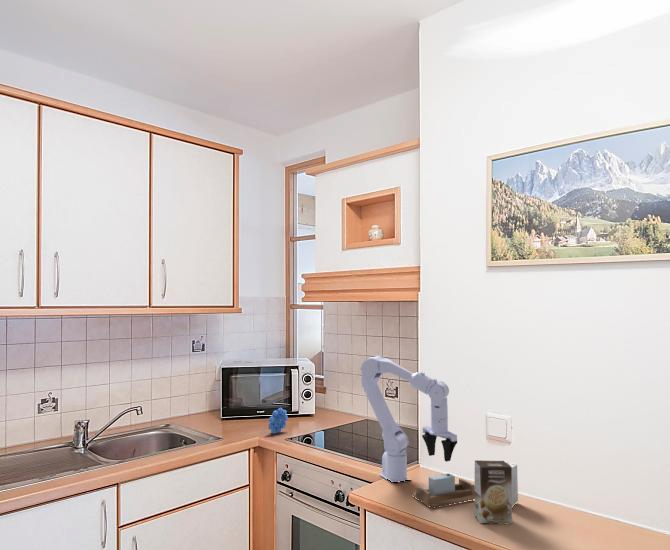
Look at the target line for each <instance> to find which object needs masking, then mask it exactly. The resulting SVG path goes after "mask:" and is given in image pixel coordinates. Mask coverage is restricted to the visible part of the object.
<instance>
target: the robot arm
mask: <svg viewBox="0 0 670 550" xmlns="http://www.w3.org/2000/svg"><path fill="white" fill-rule="evenodd" d="M360 372H361V386H362V387H361V388H362V389H363V391H364V392H365V395H366V397H367V400H368V402H369V404H370V407H372V410H373V413H374V415H375V417H376V420H377V421H378V423H379V425H380V428H381V430H382V433H381V438H382V440H383V447H384V453H383V454H382V456H381V473H380V474H379V476H380V477H382V478H383V479H385V480H387V479H390V481H391V482H398V481H404V480H407V479H408V477H409V476H408V469H407V468H408V467H407V466H408V465H407V462H408V461H407V459H408V458H407V456H408V453H407V447H408V446H409V443H410V441H409V436H407V434H406V433H405V432H404V431H403V430H402V428H401V426H399V425H398V424H397V423H396V421H395V419H394V417H393V415H392V413H391V410H390V408H389V407H388V406H389V405H388V404H387V402H386V400H385V398H384V396H383V393H382V391H381V389H380V388H379V385H378V384H379V383H378V382H379V380H380V378H381V375H382V374H386V373H387V374H389V373H390V374H392V375H394V376H396V377H398V378H400V379H403V380H404V381H407V382H409V384H410V387H412V388H414V389H415V390H418V391H419V392H421V393H423V394H425V395H427V396H428V397H429V398H430V426H422V433H423V434H422V435H421V437H422V439H423V441H424V443H425V445H426V449H427V454H428V456H430V457H431V456H435V454H436V442H437V439H438V437H439V438H442V440H441V442H440V443H441V444H442V445H441V446H442V449H443V457H444V458H443V459H444V462H446V463H447V462H451V461H452V460H451V459H452V456H453V453H454V449H455V447H456V445H457V444H458V435H457V434H455V433H453V432H451V431H449V430H448V429H449V427H448V426H449V425H448V422H449V420H448V419H449V415H448V410H449V409H448V406H449V405H448V395H449V394H450V389H449V386H448V384H447V383H445V382H444V381H442V380H441V381H438V379H436V378H431V377H430V376H428V375H425V374H426V373H425V372H423V371H421V372H419V371H417V372H412V371H410V370H408V369H407V368H405V367H403V366H401V365H399V364H398V363H396V362H394V361H393V360H392V359H389V358H387V357H383V356H382V355H376V356H373V357H368V358H366V359H364V360H363V362H362V363H361V366H360ZM443 439H444V440H443ZM390 481H389V482H390ZM391 482H390V483H391ZM404 482H405V481H404ZM398 483H399V482H398Z"/></svg>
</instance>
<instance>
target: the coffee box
mask: <svg viewBox="0 0 670 550" xmlns="http://www.w3.org/2000/svg"><path fill="white" fill-rule="evenodd" d="M508 463H509V462H506V463H505V461H504V460H477V459H476V460H474V486H475V501H474V507H473V508H474V513H473V514H475V515H474V517H475V516H476V517H477V518H476V517H475V518H476V520H477V521H478V520H479V521H480V522H479V521H478V522H479V523H480V524H481V523H512V524H513V513H512V512H513V508H512V467H511V466H510V465H509V464H508Z"/></svg>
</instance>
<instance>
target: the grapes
mask: <svg viewBox="0 0 670 550" xmlns="http://www.w3.org/2000/svg"><path fill="white" fill-rule="evenodd" d="M287 412H288V411H287V410H286V409H283V408H282V407H278V408H277V409H275V410H273V411H272V415H271V416H270V417H269V418H268V422H269V424H268V427H267V428H268V429H269V430H270V433H271V434H280V433H281V432H282V429H285V428H286V427H287V426H286V425H287V424H286V422H287V421H288V418H289V417H288V415H287Z"/></svg>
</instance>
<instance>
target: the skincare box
mask: <svg viewBox="0 0 670 550" xmlns="http://www.w3.org/2000/svg"><path fill="white" fill-rule="evenodd" d="M504 462H505V461H504ZM505 463H508V464H509V465H510V466H511V467H512V506H513V505H514V504H515V503H516V502H517V501H518V502H519V490H518V489H519V488H518V485H519V484H518V483H519V482H518V464H517V463H511V462H505Z"/></svg>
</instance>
